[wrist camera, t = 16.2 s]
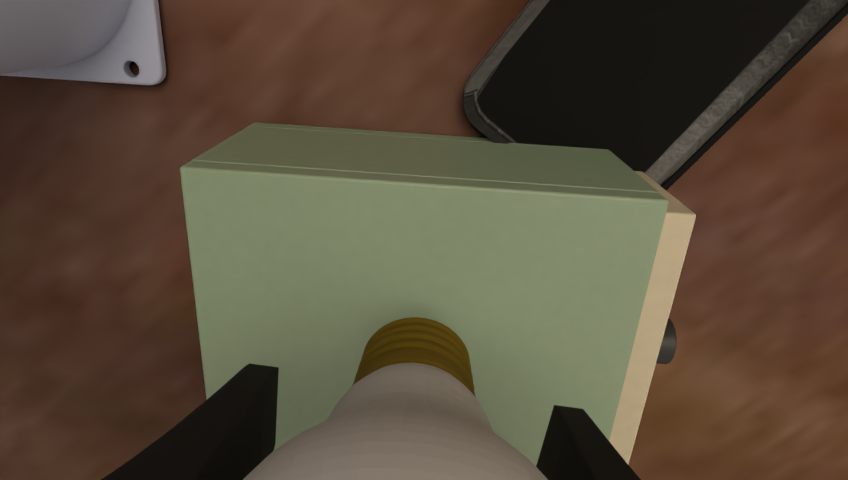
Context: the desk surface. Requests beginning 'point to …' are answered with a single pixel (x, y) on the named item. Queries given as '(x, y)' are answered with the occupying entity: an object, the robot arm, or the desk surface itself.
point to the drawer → (653, 322)
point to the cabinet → (420, 265)
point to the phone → (639, 73)
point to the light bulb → (403, 419)
